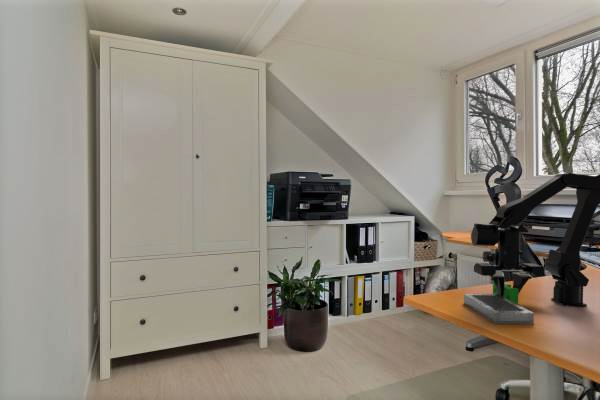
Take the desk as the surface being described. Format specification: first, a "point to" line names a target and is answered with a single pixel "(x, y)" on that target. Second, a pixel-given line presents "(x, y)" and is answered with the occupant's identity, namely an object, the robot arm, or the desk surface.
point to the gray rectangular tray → (498, 309)
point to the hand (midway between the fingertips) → (507, 297)
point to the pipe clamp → (508, 292)
